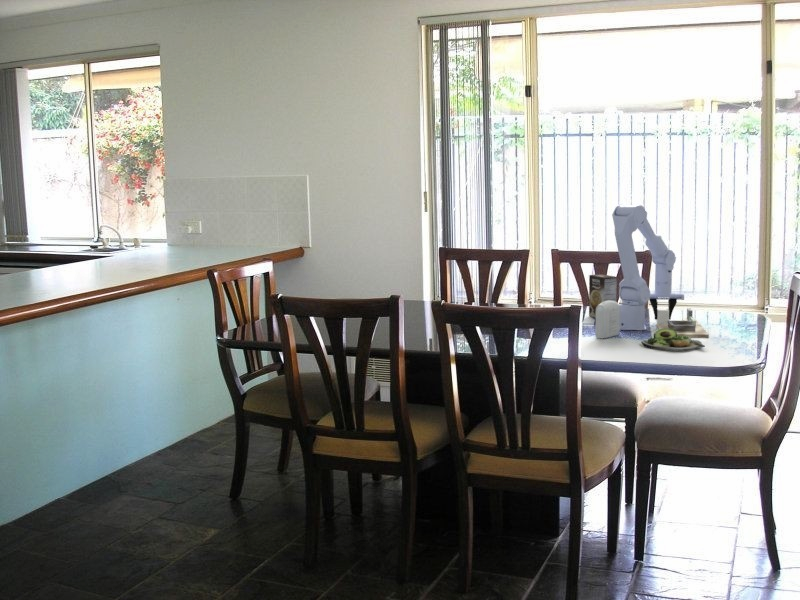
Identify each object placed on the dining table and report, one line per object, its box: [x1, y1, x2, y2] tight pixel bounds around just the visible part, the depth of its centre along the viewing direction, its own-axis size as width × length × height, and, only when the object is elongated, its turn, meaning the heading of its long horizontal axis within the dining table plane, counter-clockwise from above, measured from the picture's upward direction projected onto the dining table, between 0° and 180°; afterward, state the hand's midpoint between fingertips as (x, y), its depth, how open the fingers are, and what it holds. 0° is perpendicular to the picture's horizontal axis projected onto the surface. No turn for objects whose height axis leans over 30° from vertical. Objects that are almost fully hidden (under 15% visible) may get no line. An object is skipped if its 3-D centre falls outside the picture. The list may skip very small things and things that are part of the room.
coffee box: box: [588, 273, 618, 319], centre depth 332 cm, size 9×6×16 cm
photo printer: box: [594, 300, 620, 340], centre depth 296 cm, size 10×4×12 cm, turn 134°
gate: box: [686, 308, 697, 326], centre depth 311 cm, size 1×14×4 cm, turn 169°
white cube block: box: [655, 308, 670, 324], centre depth 318 cm, size 4×4×5 cm
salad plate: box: [640, 329, 706, 352], centre depth 279 cm, size 19×18×5 cm
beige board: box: [655, 317, 710, 338], centre depth 307 cm, size 15×30×3 cm, turn 170°
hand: (662, 319), depth 319 cm, fingers closed on white cube block, 4 cm apart
